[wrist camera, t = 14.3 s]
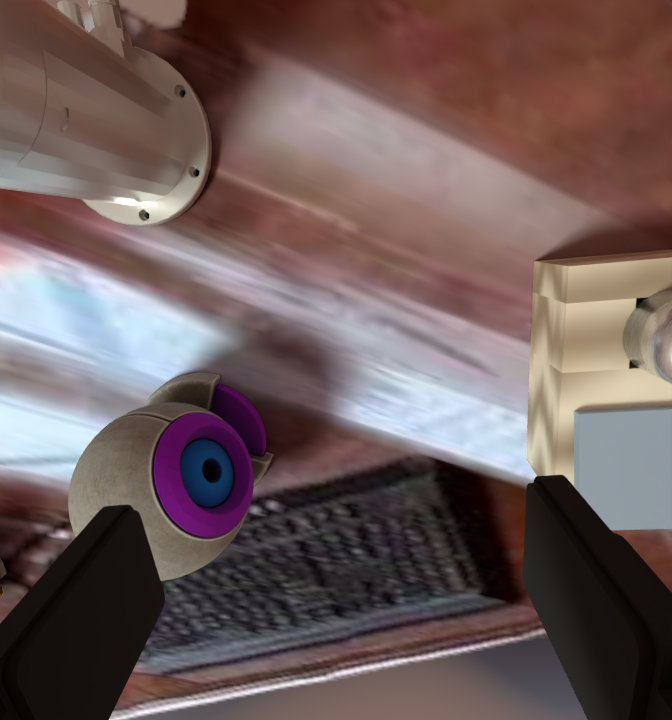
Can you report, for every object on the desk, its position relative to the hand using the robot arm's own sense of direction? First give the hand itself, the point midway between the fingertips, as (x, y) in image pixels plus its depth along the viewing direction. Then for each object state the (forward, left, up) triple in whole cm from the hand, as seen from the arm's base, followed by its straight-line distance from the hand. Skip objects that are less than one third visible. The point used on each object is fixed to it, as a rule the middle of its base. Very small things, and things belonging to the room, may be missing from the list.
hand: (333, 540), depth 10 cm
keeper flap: (+11, +21, -20) cm, 32 cm away
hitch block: (+5, +21, -27) cm, 35 cm away
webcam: (+10, -16, -27) cm, 33 cm away
